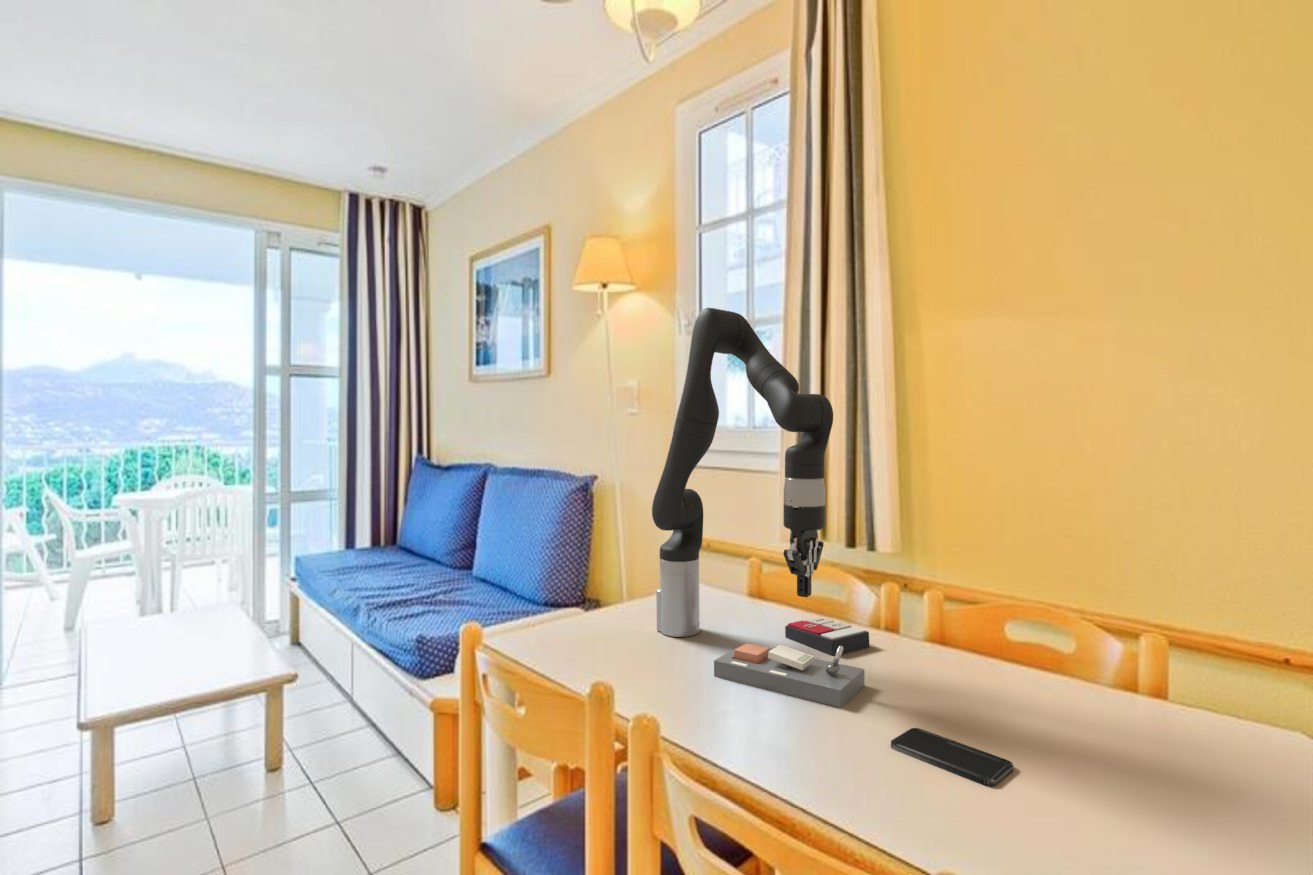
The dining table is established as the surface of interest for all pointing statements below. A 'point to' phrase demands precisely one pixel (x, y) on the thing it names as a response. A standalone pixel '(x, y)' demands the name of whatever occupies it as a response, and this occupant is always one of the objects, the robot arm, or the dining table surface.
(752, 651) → the push button
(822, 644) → the calculator
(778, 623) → the dining table surface
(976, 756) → the phone
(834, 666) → the toggle lever
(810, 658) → the white slab
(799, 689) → the panel
